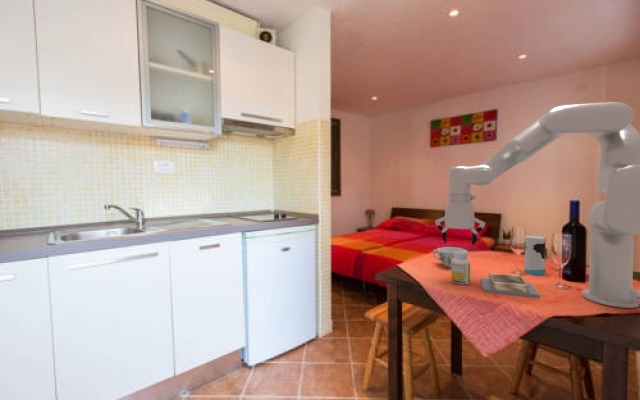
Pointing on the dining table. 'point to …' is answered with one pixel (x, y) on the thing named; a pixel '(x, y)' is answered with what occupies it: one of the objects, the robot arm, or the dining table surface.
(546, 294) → the dining table surface
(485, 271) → the dining table surface
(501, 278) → the beige square tray
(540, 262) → the milk carton
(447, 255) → the teacup
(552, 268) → the dining table surface
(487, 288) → the dock board
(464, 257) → the pill bottle
